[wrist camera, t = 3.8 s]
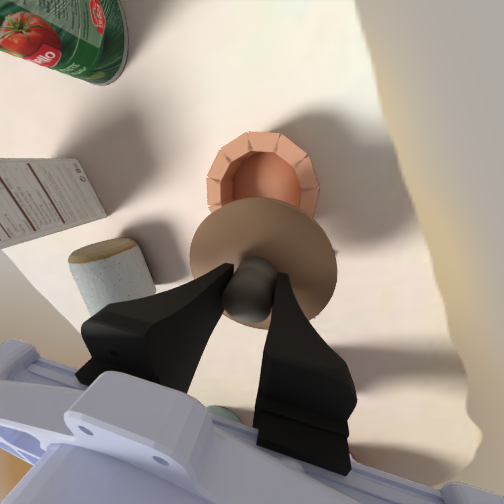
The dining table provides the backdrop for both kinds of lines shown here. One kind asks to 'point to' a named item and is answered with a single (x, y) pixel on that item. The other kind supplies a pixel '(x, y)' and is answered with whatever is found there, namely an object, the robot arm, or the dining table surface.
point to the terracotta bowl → (262, 172)
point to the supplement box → (44, 198)
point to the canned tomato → (67, 36)
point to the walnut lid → (265, 257)
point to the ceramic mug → (110, 273)
